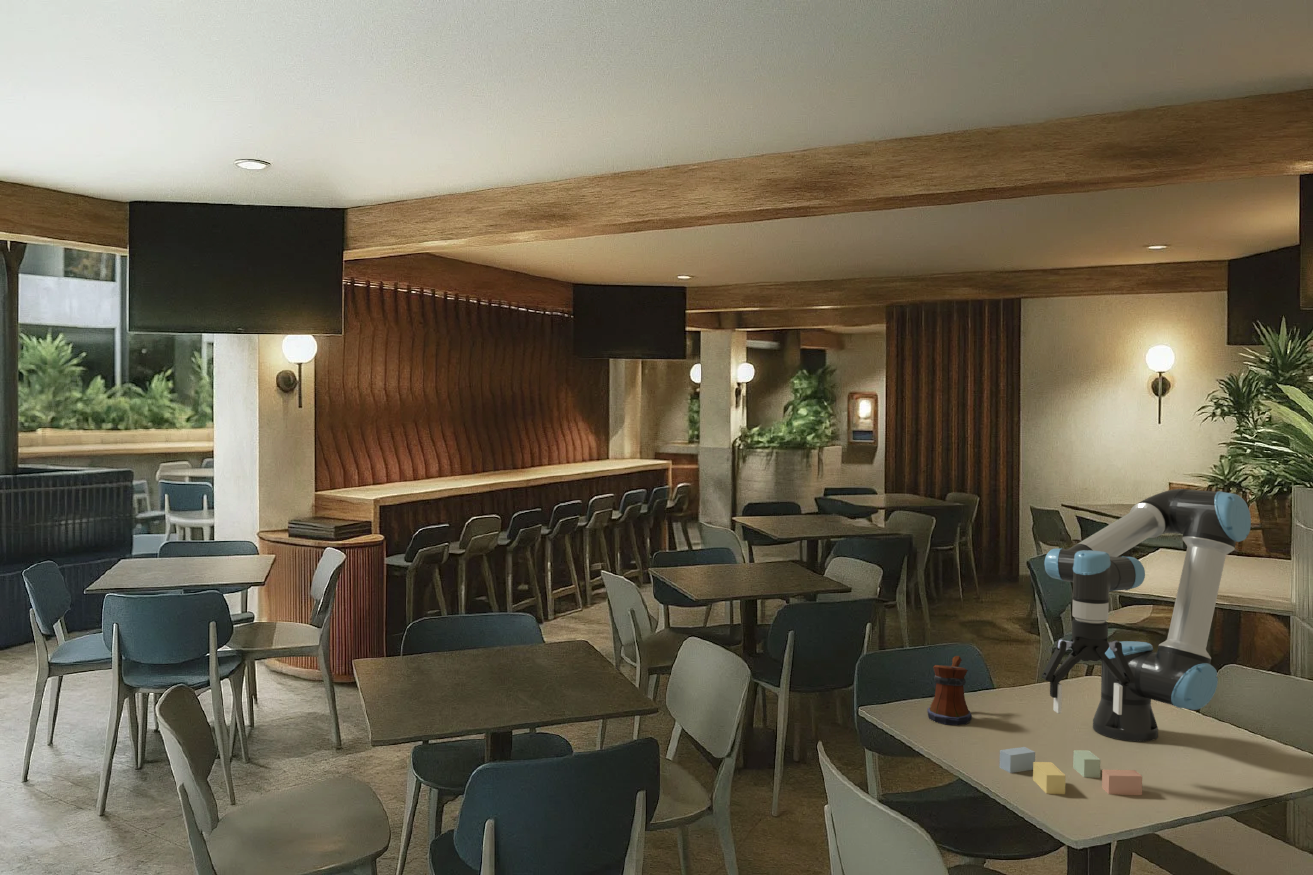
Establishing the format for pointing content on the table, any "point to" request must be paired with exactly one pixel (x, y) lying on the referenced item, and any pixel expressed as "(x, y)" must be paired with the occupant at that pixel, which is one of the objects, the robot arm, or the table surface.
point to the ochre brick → (1049, 777)
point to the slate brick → (1017, 759)
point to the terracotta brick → (1122, 782)
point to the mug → (950, 695)
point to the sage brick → (1086, 763)
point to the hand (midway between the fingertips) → (1087, 712)
